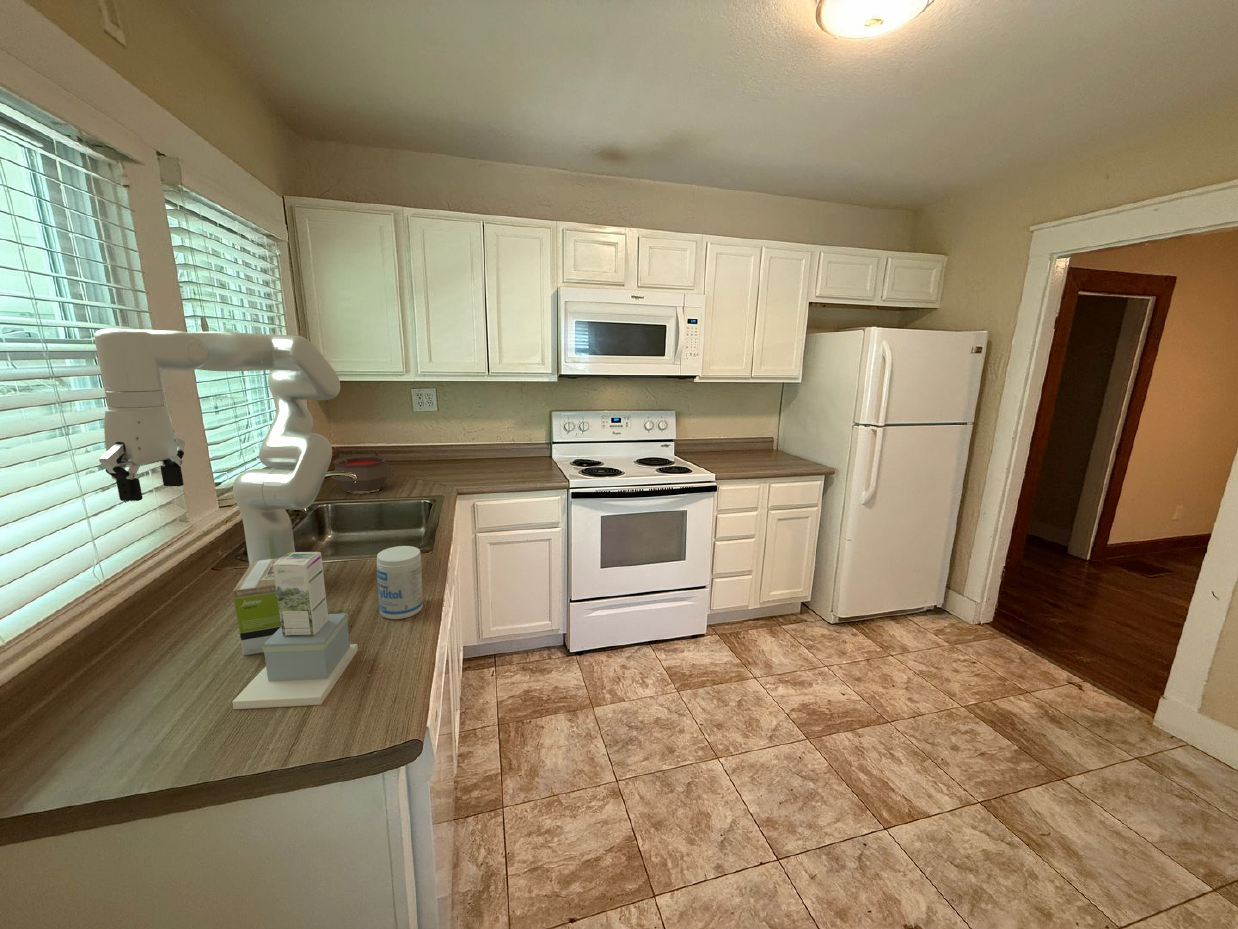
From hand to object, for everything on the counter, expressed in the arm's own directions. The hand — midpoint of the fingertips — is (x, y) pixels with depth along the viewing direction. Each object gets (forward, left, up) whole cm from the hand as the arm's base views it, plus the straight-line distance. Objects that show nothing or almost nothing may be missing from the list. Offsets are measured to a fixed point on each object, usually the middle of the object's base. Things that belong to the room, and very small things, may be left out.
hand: (153, 492), depth 91 cm
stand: (+10, +27, -33) cm, 44 cm away
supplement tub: (-14, +38, -34) cm, 53 cm away
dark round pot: (-121, -10, -34) cm, 126 cm away
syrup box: (+8, +28, -24) cm, 38 cm away
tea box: (-6, +15, -34) cm, 37 cm away
